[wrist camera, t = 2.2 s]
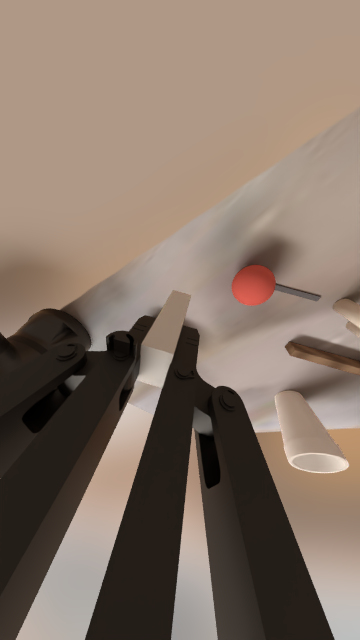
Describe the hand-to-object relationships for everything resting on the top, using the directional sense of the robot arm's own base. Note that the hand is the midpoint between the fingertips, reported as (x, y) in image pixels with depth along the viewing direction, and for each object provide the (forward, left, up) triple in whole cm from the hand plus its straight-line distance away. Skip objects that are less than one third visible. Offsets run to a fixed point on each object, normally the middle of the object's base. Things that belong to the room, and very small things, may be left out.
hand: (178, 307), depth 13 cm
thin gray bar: (+17, 0, -16) cm, 24 cm away
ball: (+9, 0, -13) cm, 16 cm away
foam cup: (+32, -26, -16) cm, 45 cm away
